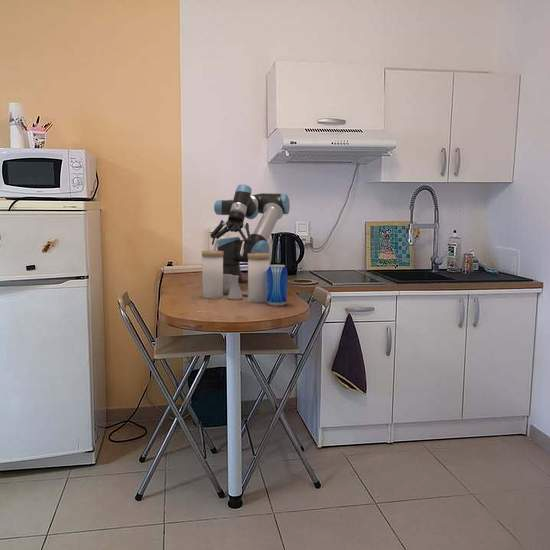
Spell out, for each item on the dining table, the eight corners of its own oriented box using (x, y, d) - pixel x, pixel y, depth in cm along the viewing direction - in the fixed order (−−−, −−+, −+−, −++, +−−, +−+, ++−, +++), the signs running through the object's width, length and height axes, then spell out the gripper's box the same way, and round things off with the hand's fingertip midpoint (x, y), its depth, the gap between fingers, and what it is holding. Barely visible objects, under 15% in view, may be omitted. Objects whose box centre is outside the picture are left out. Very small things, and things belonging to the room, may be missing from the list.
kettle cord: (216, 294, 245) (216, 292, 245) (217, 293, 246) (217, 291, 246) (267, 298, 236) (267, 296, 235) (268, 298, 237) (268, 296, 236)
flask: (229, 300, 230) (230, 277, 228) (224, 297, 236) (224, 275, 235) (245, 299, 233) (246, 276, 231) (240, 297, 239) (240, 274, 238)
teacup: (228, 294, 245) (228, 277, 244) (205, 293, 247) (205, 276, 246) (237, 290, 258) (237, 273, 257) (215, 289, 260) (215, 272, 259)
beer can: (266, 302, 227) (267, 264, 225) (286, 302, 227) (287, 264, 225) (265, 305, 219) (266, 266, 217) (286, 306, 218) (287, 266, 216)
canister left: (208, 294, 245) (208, 250, 242) (227, 295, 241) (227, 251, 239) (197, 297, 236) (197, 251, 233) (217, 299, 232) (217, 252, 230)
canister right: (252, 298, 236) (253, 252, 234) (272, 299, 233) (273, 253, 230) (243, 301, 228) (243, 254, 225) (264, 303, 224) (264, 255, 222)
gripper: (211, 207, 260) (199, 246, 252) (261, 212, 255) (251, 252, 246) (214, 215, 267) (204, 253, 258) (263, 220, 261) (254, 259, 253)
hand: (227, 253), depth 252 cm, fingers open, 13 cm apart
